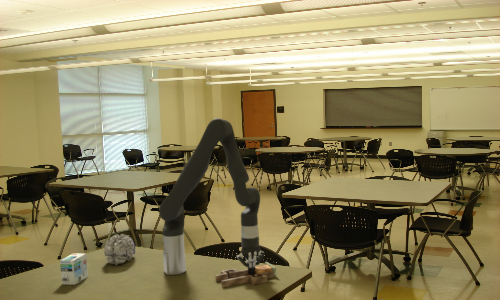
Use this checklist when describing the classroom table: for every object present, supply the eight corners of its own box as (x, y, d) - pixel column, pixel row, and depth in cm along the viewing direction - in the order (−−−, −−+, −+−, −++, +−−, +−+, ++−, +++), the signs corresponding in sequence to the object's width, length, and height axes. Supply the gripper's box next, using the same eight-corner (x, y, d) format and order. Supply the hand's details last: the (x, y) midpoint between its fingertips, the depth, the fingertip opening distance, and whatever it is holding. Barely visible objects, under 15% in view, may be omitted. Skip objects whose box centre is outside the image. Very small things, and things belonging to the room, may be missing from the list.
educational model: (137, 269, 235) (140, 239, 240) (127, 263, 216) (130, 230, 222) (110, 269, 235) (113, 239, 241) (97, 263, 217) (101, 230, 222)
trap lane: (225, 290, 185) (225, 280, 184) (212, 278, 199) (212, 269, 199) (280, 279, 194) (279, 269, 194) (263, 268, 209) (263, 259, 208)
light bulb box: (75, 285, 199) (73, 260, 198) (61, 284, 200) (59, 260, 199) (88, 276, 209) (86, 253, 208) (75, 276, 211) (73, 252, 210)
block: (259, 279, 196) (259, 270, 196) (254, 276, 200) (254, 266, 200) (272, 277, 198) (271, 267, 198) (267, 273, 203) (266, 264, 203)
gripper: (260, 231, 202) (262, 270, 204) (232, 235, 197) (234, 275, 199) (267, 235, 195) (269, 275, 197) (238, 239, 190) (240, 280, 192)
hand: (251, 275), depth 198 cm, fingers closed
